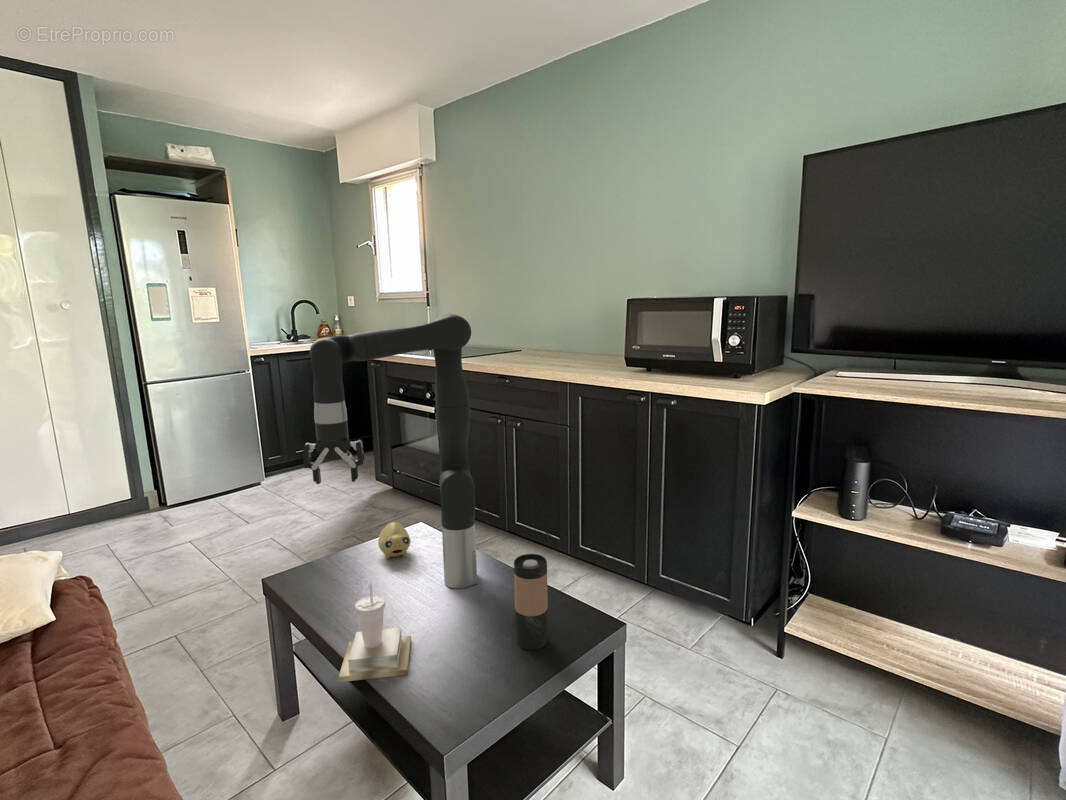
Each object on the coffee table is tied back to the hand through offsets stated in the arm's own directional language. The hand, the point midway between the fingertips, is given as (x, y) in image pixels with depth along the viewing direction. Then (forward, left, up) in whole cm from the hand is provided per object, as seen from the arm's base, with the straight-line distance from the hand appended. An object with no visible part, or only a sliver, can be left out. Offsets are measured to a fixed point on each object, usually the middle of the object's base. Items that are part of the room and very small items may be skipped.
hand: (336, 482), depth 135 cm
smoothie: (-10, +24, -30) cm, 40 cm away
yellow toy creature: (-10, -27, -34) cm, 45 cm away
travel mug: (-46, +23, -34) cm, 62 cm away
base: (-11, +24, -34) cm, 43 cm away
